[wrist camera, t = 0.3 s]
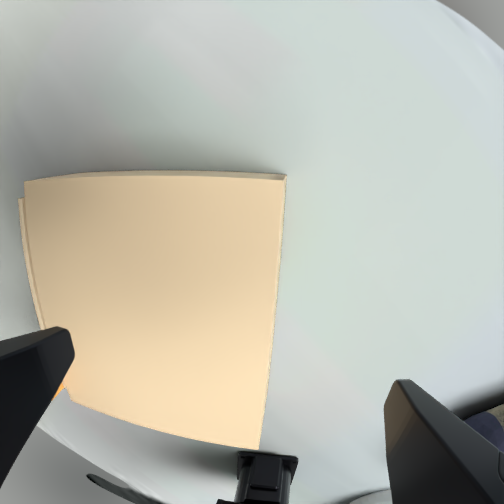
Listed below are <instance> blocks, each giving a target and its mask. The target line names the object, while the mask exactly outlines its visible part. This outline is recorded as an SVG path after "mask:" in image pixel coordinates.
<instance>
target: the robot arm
mask: <svg viewBox="0 0 504 504" xmlns="http://www.w3.org/2000/svg"><path fill="white" fill-rule="evenodd" d="M74 358H75V350H74V346H73V342H72V338H71V334H70V332H69V330H67V329H65V328H62V327H59V326H55V327H52V328H48V329H44V330H40V331H37V332H33V333H29V334H25V335H22V336H18V337H14V338H10V339H6V340H2V341H0V488H1V486H2V484H3V482H4V480H5V478H6V477H7V475H8V473H9V471H10V469H11V467H12V466H13V464H14V462H15V460H16V458H17V456H18V455H19V453H20V451H21V450H22V448H23V446H24V445H25V443H26V441H27V439H28V438H29V436H30V434H31V433H32V431H33V430H34V428H35V426H36V425H37V423H38V422H39V420H40V418H41V417H42V415H43V414H44V412H45V410H46V409H47V407H48V406H49V404H50V403H51V401H52V399H53V398H54V396H55V394H56V393H57V391H58V389H59V387H60V385H61V383H62V381H63V379H64V377H65V375H66V374H67V372H68V370H69V368H70V366H71V364H72V363H73V361H74ZM384 422H385V439H386V459H387V467H388V473H389V480H390V488H391V496H392V504H504V453H503V452H502V451H499V449H498V448H496V447H495V446H494V445H493V444H491V443H490V442H489V441H488V440H486V439H485V438H484V437H483V436H481V435H480V434H479V433H477V432H476V431H475V430H474V429H472V428H471V427H470V426H469V425H467V424H466V423H465V422H464V421H462V420H461V419H460V418H458V417H457V416H456V415H455V414H453V413H452V412H451V411H450V410H448V409H447V408H446V407H445V406H443V405H442V404H441V403H440V402H438V401H437V400H436V399H434V398H433V397H432V396H431V395H429V394H428V393H427V392H426V391H424V390H423V389H422V388H421V387H419V386H418V385H417V384H416V383H414V382H413V381H412V380H410V379H398V380H396V381H395V382H394V383H393V385H392V387H391V390H390V392H389V394H388V397H387V399H386V401H385V404H384ZM297 465H298V458H296V457H283V456H272V455H262V454H253V453H245V452H240V453H239V455H238V472H237V479H238V480H239V481H238V486H237V490H236V495H235V499H234V502H231V501H224V500H222V499H218V500H217V503H216V504H289V493H290V485H291V483H292V480H293V477H294V474H295V471H296V468H297Z"/></svg>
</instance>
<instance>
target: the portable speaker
mask: <svg viewBox="0 0 504 504" xmlns="http://www.w3.org/2000/svg"><path fill="white" fill-rule="evenodd" d="M464 422H465V423H466V424H467V425H469V426H470V427H471V428H472V429H474V430H475V431H476V432H477V433H479V434H480V435H481V436H483V437H484V438H485V439H486V440H488V441H489V442H490V443H491V444H493V445H494V446H495V447H496V448H498V449H499V451H502V452H503V453H504V404H502V405H500V406H497V407H495V408H492V409H490V410H487V411H485V412H482V413H479V414H476V415H473V416H471V417H469V418H468V419H466V420H464Z"/></svg>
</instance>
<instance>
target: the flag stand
mask: <svg viewBox="0 0 504 504" xmlns="http://www.w3.org/2000/svg"><path fill="white" fill-rule="evenodd" d="M349 504H392V496H391V489H389V490H384V491H379V492H375V493H372V494H368V495H366V496H363V497H360V498H358V499H356V500H354V501H352V502H350V503H349Z"/></svg>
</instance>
